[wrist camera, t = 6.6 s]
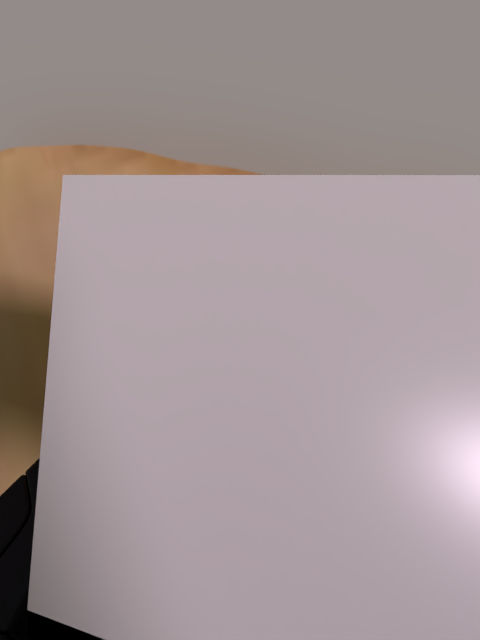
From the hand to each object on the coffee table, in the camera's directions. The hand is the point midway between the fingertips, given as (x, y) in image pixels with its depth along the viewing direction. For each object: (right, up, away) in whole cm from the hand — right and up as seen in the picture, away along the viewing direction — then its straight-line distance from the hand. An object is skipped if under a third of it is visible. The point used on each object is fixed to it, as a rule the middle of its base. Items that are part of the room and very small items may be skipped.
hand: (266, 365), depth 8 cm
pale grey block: (-1, -3, +5) cm, 6 cm away
